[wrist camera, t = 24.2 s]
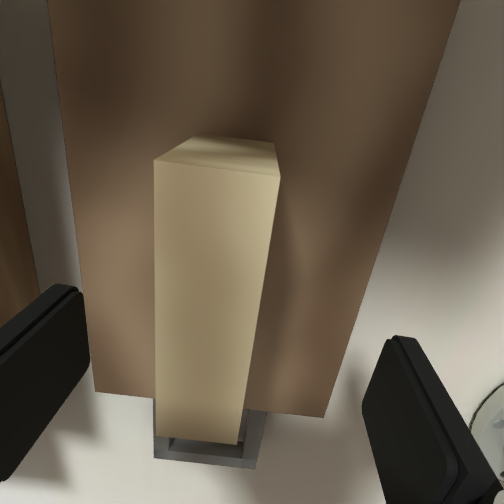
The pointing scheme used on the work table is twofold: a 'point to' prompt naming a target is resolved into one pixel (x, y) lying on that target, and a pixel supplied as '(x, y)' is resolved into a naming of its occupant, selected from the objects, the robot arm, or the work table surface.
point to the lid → (234, 194)
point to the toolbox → (13, 235)
